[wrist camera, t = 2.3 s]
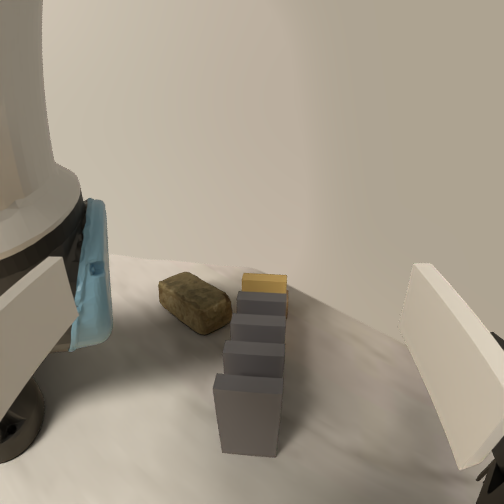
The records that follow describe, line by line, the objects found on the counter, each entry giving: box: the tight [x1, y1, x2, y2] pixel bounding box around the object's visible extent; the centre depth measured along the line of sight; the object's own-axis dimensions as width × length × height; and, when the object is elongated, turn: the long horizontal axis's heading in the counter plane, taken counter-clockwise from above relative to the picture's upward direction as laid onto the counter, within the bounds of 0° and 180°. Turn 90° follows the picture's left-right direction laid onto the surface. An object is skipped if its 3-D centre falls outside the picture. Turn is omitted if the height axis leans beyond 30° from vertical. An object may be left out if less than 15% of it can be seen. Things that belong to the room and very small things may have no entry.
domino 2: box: [237, 291, 286, 316], centre depth 35 cm, size 2×5×10 cm, turn 84°
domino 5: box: [213, 373, 283, 457], centre depth 24 cm, size 2×5×10 cm, turn 84°
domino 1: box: [242, 273, 287, 294], centre depth 38 cm, size 2×5×10 cm, turn 84°
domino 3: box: [230, 313, 286, 344], centre depth 31 cm, size 2×5×10 cm, turn 84°
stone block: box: [158, 272, 232, 335], centre depth 45 cm, size 6×12×5 cm, turn 47°
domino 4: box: [223, 340, 285, 378], centre depth 27 cm, size 2×5×10 cm, turn 84°
